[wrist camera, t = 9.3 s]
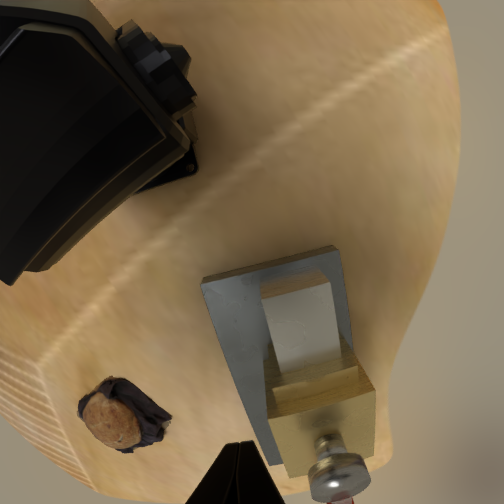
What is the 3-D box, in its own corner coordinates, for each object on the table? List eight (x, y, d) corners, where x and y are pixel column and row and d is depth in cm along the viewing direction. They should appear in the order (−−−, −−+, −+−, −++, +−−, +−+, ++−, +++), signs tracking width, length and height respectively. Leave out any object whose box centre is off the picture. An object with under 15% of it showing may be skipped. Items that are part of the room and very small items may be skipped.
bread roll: (132, 450, 25) (123, 473, 21) (72, 406, 23) (58, 426, 20) (185, 417, 23) (178, 445, 19) (113, 362, 22) (96, 386, 18)
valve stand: (268, 455, 24) (273, 529, 14) (203, 277, 19) (168, 348, 10) (354, 434, 23) (380, 503, 14) (332, 245, 19) (396, 292, 10)
